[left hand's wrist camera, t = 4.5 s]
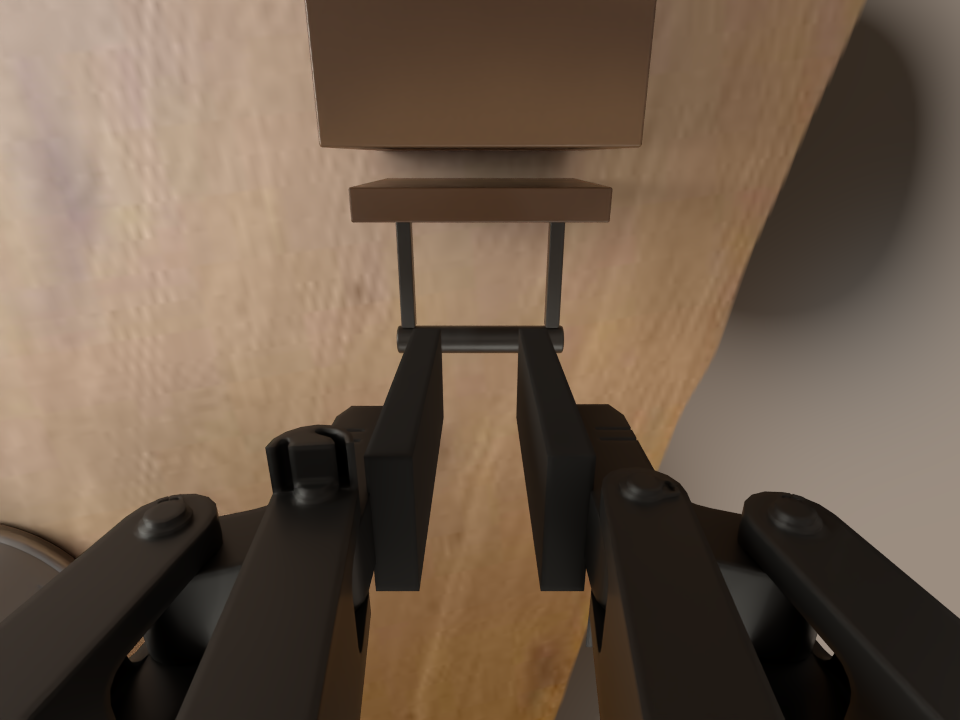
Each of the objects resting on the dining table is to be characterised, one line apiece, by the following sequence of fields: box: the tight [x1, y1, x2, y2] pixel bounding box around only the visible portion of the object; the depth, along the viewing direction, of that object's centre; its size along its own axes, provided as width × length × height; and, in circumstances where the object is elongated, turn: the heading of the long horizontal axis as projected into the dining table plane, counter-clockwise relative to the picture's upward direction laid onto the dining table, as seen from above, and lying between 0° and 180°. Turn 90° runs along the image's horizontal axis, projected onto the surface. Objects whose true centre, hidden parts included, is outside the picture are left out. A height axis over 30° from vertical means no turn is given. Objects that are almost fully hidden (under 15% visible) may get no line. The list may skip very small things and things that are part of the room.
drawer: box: [349, 178, 612, 353], centre depth 20 cm, size 26×9×8 cm, turn 0°
